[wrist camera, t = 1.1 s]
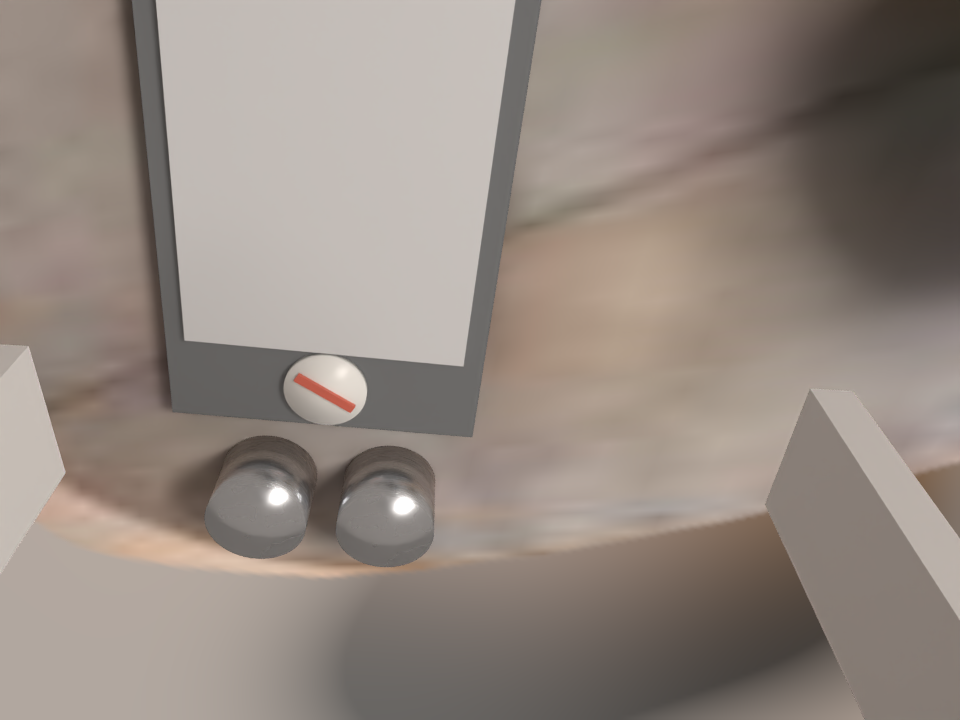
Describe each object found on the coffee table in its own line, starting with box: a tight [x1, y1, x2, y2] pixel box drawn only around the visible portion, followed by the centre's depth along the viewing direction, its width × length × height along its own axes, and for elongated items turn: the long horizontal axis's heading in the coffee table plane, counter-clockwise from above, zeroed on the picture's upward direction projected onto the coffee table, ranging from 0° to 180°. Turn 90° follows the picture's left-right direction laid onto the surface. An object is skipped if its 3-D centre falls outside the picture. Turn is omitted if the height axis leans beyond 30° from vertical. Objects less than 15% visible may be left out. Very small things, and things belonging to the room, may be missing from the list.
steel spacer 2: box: [336, 446, 435, 567], centre depth 41 cm, size 5×5×4 cm
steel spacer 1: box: [204, 436, 317, 559], centre depth 40 cm, size 5×5×4 cm
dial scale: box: [132, 0, 541, 437], centre depth 33 cm, size 22×15×2 cm
